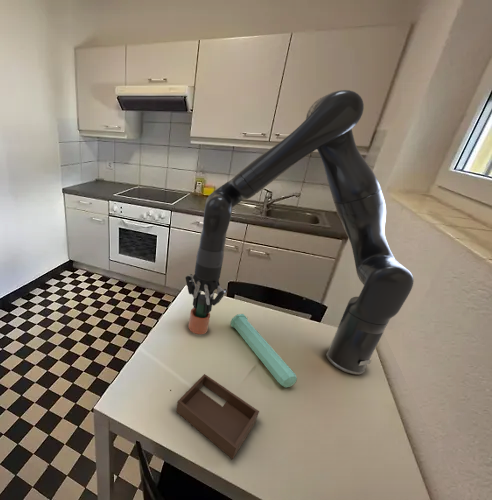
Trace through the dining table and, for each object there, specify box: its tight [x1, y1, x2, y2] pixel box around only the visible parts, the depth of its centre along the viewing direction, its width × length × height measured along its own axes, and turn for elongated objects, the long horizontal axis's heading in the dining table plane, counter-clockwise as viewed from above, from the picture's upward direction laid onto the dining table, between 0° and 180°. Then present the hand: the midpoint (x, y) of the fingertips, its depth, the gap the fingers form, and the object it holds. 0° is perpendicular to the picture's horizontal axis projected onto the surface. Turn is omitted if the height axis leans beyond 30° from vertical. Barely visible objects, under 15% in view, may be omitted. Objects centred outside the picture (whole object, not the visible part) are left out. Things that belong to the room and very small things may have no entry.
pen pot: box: [187, 307, 211, 335], centre depth 90 cm, size 6×6×6 cm
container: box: [230, 313, 298, 388], centre depth 82 cm, size 6×6×25 cm
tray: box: [175, 373, 260, 460], centre depth 63 cm, size 11×14×4 cm
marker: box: [195, 293, 206, 318], centre depth 89 cm, size 3×3×11 cm
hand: (201, 309), depth 88 cm, fingers closed on marker, 3 cm apart
